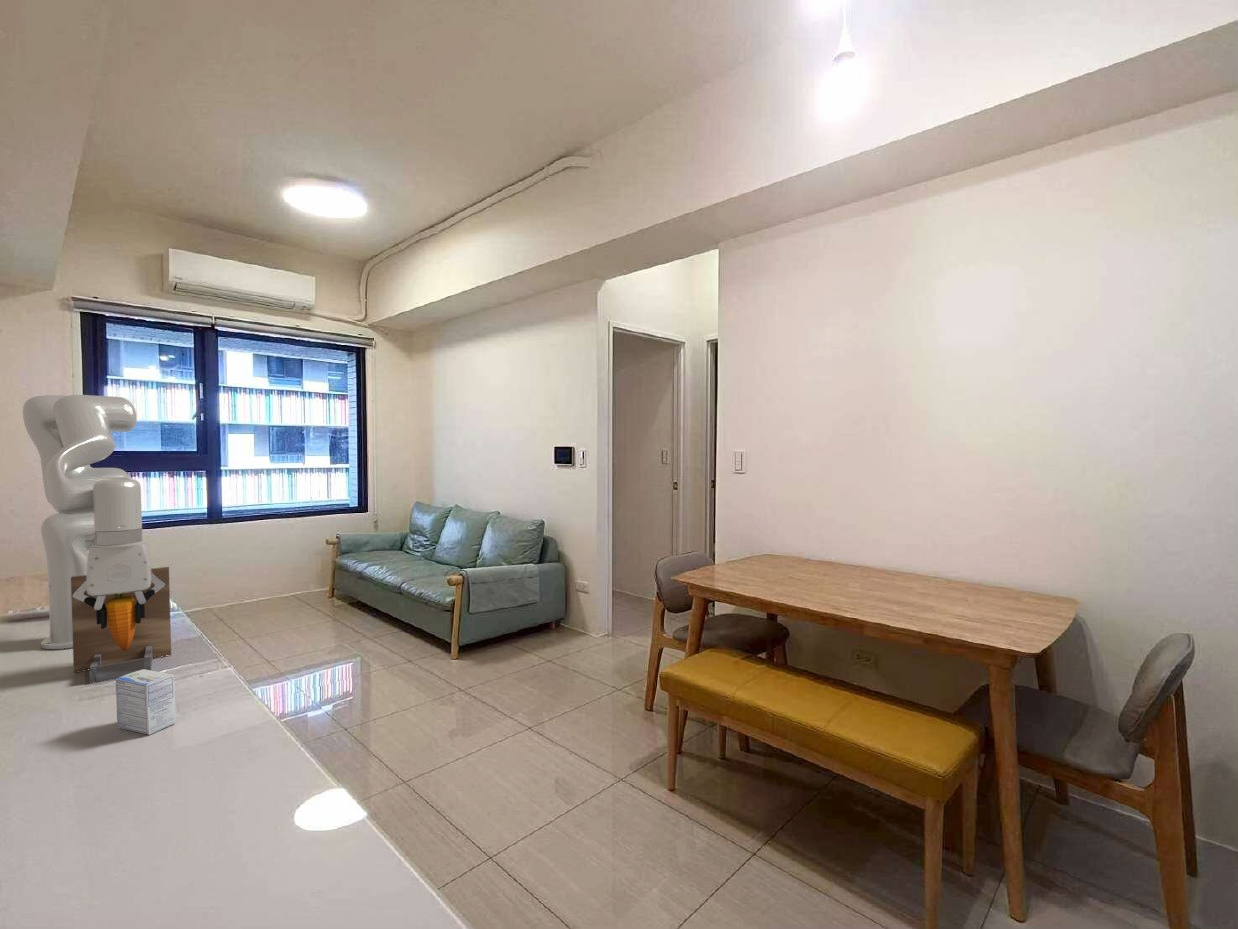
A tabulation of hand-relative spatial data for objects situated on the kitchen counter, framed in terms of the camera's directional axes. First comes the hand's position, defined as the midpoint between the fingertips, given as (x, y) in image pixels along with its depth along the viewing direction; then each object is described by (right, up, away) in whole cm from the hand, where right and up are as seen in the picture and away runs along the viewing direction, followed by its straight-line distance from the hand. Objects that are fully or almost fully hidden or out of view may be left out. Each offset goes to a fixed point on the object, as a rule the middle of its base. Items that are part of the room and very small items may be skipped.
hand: (121, 623), depth 120 cm
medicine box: (+25, -11, -23) cm, 36 cm away
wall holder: (0, -10, 0) cm, 10 cm away
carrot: (0, -6, +1) cm, 6 cm away
